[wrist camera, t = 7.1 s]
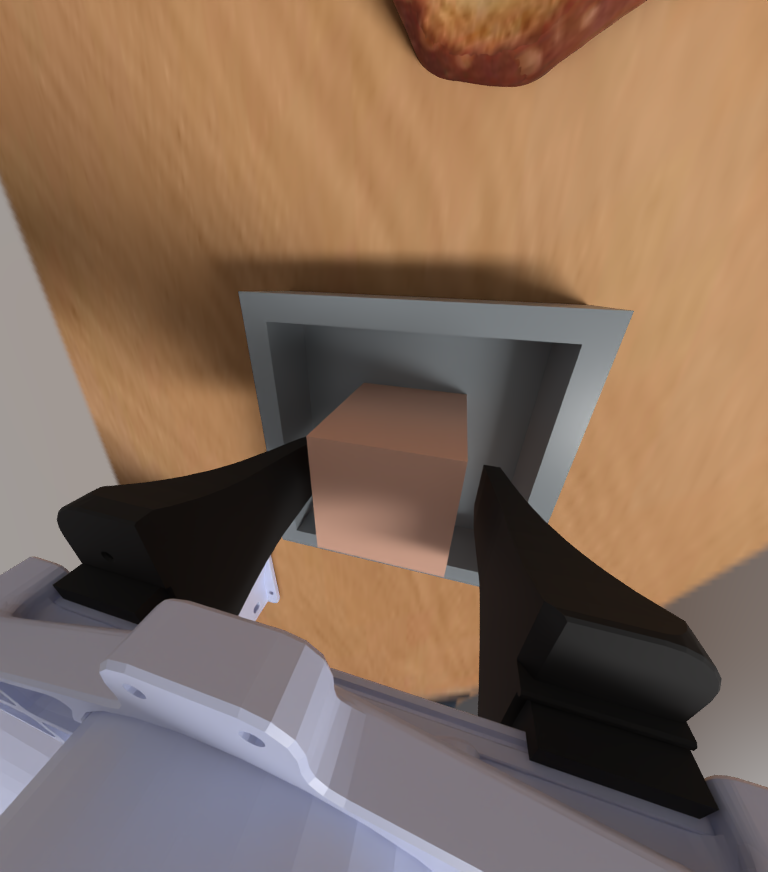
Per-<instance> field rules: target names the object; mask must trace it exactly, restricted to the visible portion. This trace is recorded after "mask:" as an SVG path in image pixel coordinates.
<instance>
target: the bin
mask: <svg viewBox="0 0 768 872" xmlns="http://www.w3.org/2000/svg"><path fill="white" fill-rule="evenodd" d="M238 293H239V298H240V304H241V309H242V315H243V321H244V326H245V332H246V337H247V343H248V348H249V354H250V360H251V365H252V371H253V376H254V382H255V387H256V393H257V398H258V404H259V410H260V415H261V421H262V426H263V432H264V437H265V443H266V449H267V451H270V450H272V449H274V448H277V447H279V446H282V445H284V444H287V443H289V442H292V441H294V440H297V439H300V438H303V437H306V436H307V435H308V434H309V433H310V432H311V431H312V430H313V429H315V428H316V427H317V426H318V425H319V424H320V423H321V422H322V421H323V420H324V419H325V418H326V417H327V416H329V415H330V414H331V413H332V412H333V411H334V410H335V409H336V408H337V407H338V406H339V405H340V404H341V403H343V402H344V401H345V400H346V399H347V398H348V397H349V396H350V395H351V394H352V393H353V392H354V391H355V390H357V389H358V388H359V387H360V386H361V385H362V384H363V383H371V384H379V385H388V386H397V387H406V388H415V389H424V390H432V391H441V392H450V393H459V394H467V446H468V463H467V468H466V473H465V478H464V482H463V487H462V492H461V497H460V502H459V507H458V512H457V517H456V521H455V526H454V531H453V536H452V541H451V546H450V551H449V556H448V560H447V565H446V570H445V575H444V577H441V576H437V575H433V574H429V575H433V576H437V577H441V578H445V579H450V580H454V581H458V582H462V583H466V584H470V585H475V586H479V575H478V566H477V557H476V547H475V538H474V504H475V499H476V495H477V491H478V487H479V482H480V478H481V474H482V469H483V465H489V466H495V467H500V468H501V469H502V470H503V472H504V473H505V474H506V476H507V477H508V478H509V480H510V481H511V482H512V484H513V485H514V486H515V488H516V489H517V490H518V491H519V493H520V494H521V495H522V496H523V497H524V499H525V500H526V501H527V502H528V503H529V504H530V505H531V507H532V508H533V509H534V510H535V511H536V512H537V513H538V514H539V515H540V516H541V517H542V518H543V519H544V520H545V521H546V522H547V523H548V522H549V519H550V517H551V514H552V512H553V509H554V507H555V504H556V502H557V499H558V497H559V494H560V492H561V489H562V487H563V485H564V482H565V480H566V477H567V475H568V472H569V470H570V467H571V465H572V462H573V460H574V457H575V455H576V452H577V450H578V448H579V445H580V443H581V440H582V438H583V435H584V433H585V430H586V428H587V425H588V423H589V420H590V418H591V415H592V413H593V411H594V408H595V406H596V403H597V401H598V398H599V396H600V393H601V391H602V388H603V386H604V383H605V381H606V378H607V376H608V374H609V371H610V369H611V366H612V364H613V361H614V359H615V356H616V354H617V351H618V349H619V346H620V344H621V341H622V339H623V337H624V334H625V332H626V329H627V327H628V324H629V322H630V319H631V317H632V314H633V312H634V311H631V310H623V309H615V308H608V307H600V306H593V305H579V304H558V303H537V302H515V301H494V300H473V299H452V298H431V297H409V296H388V295H367V294H346V293H324V292H303V291H238ZM282 538H283V539H284V540H288V541H292V542H296V543H300V544H304V545H308V546H313V547H317V537H316V527H315V517H314V507H313V497H312V496H311V497H310V499H309V500H308V502H307V503H306V504H305V506H304V507H303V509H302V510H301V511H300V513H299V514H298V515H297V517H296V518H295V519H294V521H293V522H292V523H291V525H290V526H289V528H288V529H287V530H286V532H285V533H284V534H283V536H282ZM317 548H321V547H317ZM321 549H325V548H321ZM325 550H329V549H325ZM329 551H333V550H329ZM333 552H337V551H333ZM338 553H341V552H338ZM342 554H345V553H342ZM346 555H350V554H346ZM350 556H354V555H350ZM354 557H358V556H354ZM358 558H362V557H358ZM362 559H366V558H362ZM367 560H370V559H367ZM371 561H374V560H371ZM375 562H379V561H375ZM379 563H383V562H379ZM383 564H387V563H383ZM387 565H391V564H387ZM391 566H395V565H391ZM396 567H399V566H396ZM400 568H403V567H400ZM404 569H408V568H404ZM408 570H412V569H408ZM412 571H416V570H412ZM416 572H420V571H416ZM421 573H424V572H421ZM425 574H428V573H425Z"/></svg>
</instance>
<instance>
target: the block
mask: <svg viewBox="0 0 768 872" xmlns="http://www.w3.org/2000/svg"><path fill="white" fill-rule="evenodd" d="M306 438H307V447H308V457H309V467H310V477H311V487H312V497H313V507H314V517H315V527H316V537H317V547H321V548H325V549H329V550H333V551H337V552H341V553H345V554H350V555H354V556H358V557H362V558H366V559H370V560H374V561H379V562H383V563H387V564H391V565H395V566H399V567H403V568H408V569H412V570H416V571H420V572H424V573H428V574H433V575H437V576H441V577H444V575H445V570H446V565H447V560H448V556H449V551H450V546H451V541H452V536H453V531H454V526H455V521H456V517H457V512H458V507H459V502H460V497H461V492H462V487H463V482H464V478H465V473H466V468H467V463H468V446H467V394H459V393H450V392H441V391H432V390H424V389H415V388H406V387H397V386H388V385H379V384H371V383H363V384H362V385H361V386H360V387H359V388H358V389H357V390H355V391H354V392H353V393H352V394H351V395H350V396H349V397H348V398H347V399H346V400H345V401H344V402H343V403H341V404H340V405H339V406H338V407H337V408H336V409H335V410H334V411H333V412H332V413H331V414H330V415H329V416H327V417H326V418H325V419H324V420H323V421H322V422H321V423H320V424H319V425H318V426H317V427H316V428H315V429H313V430H312V431H311V432H310V433H309V434H308V435H307V436H306Z"/></svg>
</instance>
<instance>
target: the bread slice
mask: <svg viewBox="0 0 768 872" xmlns="http://www.w3.org/2000/svg"><path fill="white" fill-rule="evenodd" d="M645 1H647V0H393V2H394V4H395V7H396V9H397V11H398V13H399V15H400V17H401V20H402V22H403V25H404V27H405V29H406V31H407V34H408V36H409V38H410V41H411V44H412V46H413V48H414V51H415V53H416V55H417V58H418V59H419V61H420V63H421V64H422V65H423V66H424V67H425V68H426V69H427V70H428V71H429V72H431V73H432V74H434V75H436V76H437V77H440V78H443V79H447V80H452V81H461V82H467V83H473V84H479V85H487V86H499V87H517V86H522V85H525V84H529V83H531V82H533V81H535V80H537V79H539V78H541V77H542V76H543V75H545V74H546V73H547V72H548V71H550V70H551V69H552V68H553V67H554V66H556V65H557V64H558V63H559V62H561V61H562V60H564V59H565V58H567V57H568V56H569V55H570V54H572V53H573V52H575V51H576V50H578V49H579V48H581V47H582V46H583V45H584V44H586V43H587V42H588V41H589V40H591V39H592V38H593V37H595V36H596V35H598V34H599V33H601V32H602V31H603V30H605V29H606V28H608V27H609V26H611V25H612V24H613V23H615V22H616V21H617V20H619V19H620V18H621V17H623V16H624V15H626V14H627V13H629V12H630V11H632V10H633V9H635V8H637V7H638V6H639V5H641V4H642V3H644V2H645Z"/></svg>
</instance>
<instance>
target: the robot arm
mask: <svg viewBox="0 0 768 872" xmlns="http://www.w3.org/2000/svg"><path fill="white" fill-rule="evenodd" d="M311 496H312V487H311V477H310V467H309V457H308V447H307V438H306V437H303V438H300V439H297V440H294V441H292V442H289V443H287V444H284V445H282V446H279V447H277V448H274V449H272V450H270V451H267V452H265V453H262V454H259V455H257V456H254V457H251V458H249V459H246V460H243V461H240V462H237V463H234V464H231V465H228V466H224V467H221V468H217V469H214V470H210V471H205V472H201V473H196V474H192V475H188V476H183V477H177V478H172V479H166V480H159V481H152V482H145V483H136V484H126V485H115V486H104V487H100V488H98V489H96V490H94V491H92V492H90V493H88V494H86V495H84V496H83V497H81V498H79V499H77V500H75V501H73V502H71V503H70V504H68V505H66V506H64V507H62V508H61V509H60V510H59V512H58V517H57V522H58V525H59V528H60V530H61V532H62V534H63V535H64V537H65V538H66V540H67V541H68V543H69V544H70V546H71V547H72V549H73V550H74V552H75V553H76V555H77V556H78V558H79V559H80V561H81V562H82V564H81V565H80V566H78V567H77V568H76V569H74V570H73V571H71V572H69V571H68V570H67V569H66V568H64V567H63V566H61V565H59V564H57V563H53V562H50V561H47V560H44V559H41V558H38V557H29V558H28V559H26V560H24V561H23V562H21V563H19V564H18V565H16V566H14V567H13V568H11V569H10V570H8V571H7V572H5V573H3V574H1V575H0V872H768V788H767V787H764V786H761V785H758V784H755V783H752V782H749V781H745V780H742V779H739V778H735V777H730V776H722V775H719V776H718V775H714V776H710V777H707V778H705V779H704V778H703V775H702V774H701V771H700V769H699V767H698V765H697V763H696V761H695V759H694V757H693V755H692V753H691V751H690V750H693V751H694V750H695V749H697V742H696V740H695V738H694V736H693V734H692V732H691V730H690V728H689V726H688V724H687V722H686V721H687V720H689V719H690V718H691V717H693V716H694V715H695V714H696V713H697V712H699V711H700V710H701V709H702V708H704V707H705V706H706V705H708V703H710V702H711V701H712V700H713V699H714V697H715V696H716V695H717V694H718V692H719V690H720V685H721V677H720V675H719V673H718V670H717V668H716V666H715V665H714V664H713V662H712V660H711V659H710V657H709V656H708V654H707V653H706V651H705V650H704V648H703V647H702V646H701V644H700V643H699V641H698V639H697V638H696V636H695V635H694V634H693V632H692V630H691V629H690V628H689V626H688V625H687V623H686V622H685V621H684V620H682V619H680V618H679V617H677V616H675V615H674V614H672V613H670V612H669V611H667V610H665V609H664V608H662V607H660V606H659V605H657V604H655V603H654V602H652V601H650V600H649V599H647V598H646V597H644V596H642V595H641V594H639V593H637V592H636V591H634V590H633V589H631V588H630V587H628V586H627V585H625V584H624V583H622V582H621V581H619V580H618V579H616V578H615V577H613V576H612V575H610V574H609V573H608V572H606V571H605V570H603V569H602V568H601V567H599V566H598V565H596V564H595V563H594V562H592V561H591V560H590V559H589V558H587V557H586V556H585V555H583V554H582V553H581V552H580V551H578V550H577V549H576V548H575V547H573V546H572V545H571V544H570V543H569V542H567V541H566V540H565V539H564V538H563V537H562V536H561V535H560V534H558V533H557V532H556V531H555V530H554V529H553V528H552V527H551V526H550V525H549V524H548V523H547V522H546V521H545V520H544V519H543V518H542V517H541V516H540V515H539V514H538V513H537V512H536V511H535V510H534V509H533V508H532V507H531V505H530V504H529V503H528V502H527V501H526V500H525V499H524V497H523V496H522V495H521V494H520V493H519V491H518V490H517V489H516V488H515V486H514V485H513V484H512V482H511V481H510V480H509V478H508V477H507V476H506V474H505V473H504V472H503V470H502V469H501V468H500V467H495V466H489V465H483V469H482V474H481V478H480V482H479V487H478V491H477V495H476V499H475V504H474V538H475V547H476V557H477V566H478V575H479V588H480V656H479V697H478V699H479V701H478V716H475V715H473V714H470V713H467V712H464V711H460V710H457V709H454V708H451V707H448V706H445V705H442V704H439V703H436V702H433V701H430V700H427V699H424V698H421V697H418V696H415V695H412V694H409V693H406V692H403V691H400V690H397V689H394V688H391V687H387V686H384V685H381V684H378V683H375V682H372V681H369V680H366V679H363V678H360V677H357V676H354V675H351V674H348V673H345V672H342V671H339V670H336V669H333V668H330V667H329V665H328V663H327V661H326V659H325V657H324V655H323V654H322V653H321V652H319V651H318V650H317V649H316V648H315V647H313V646H312V645H311V644H310V643H309V642H307V641H306V640H304V639H302V638H300V637H297V636H295V635H293V634H291V633H289V632H287V631H285V630H282V629H278V628H275V627H272V626H269V625H265V624H262V623H259V622H256V619H257V617H258V616H259V614H260V613H261V611H262V610H263V608H264V606H265V605H266V603H267V602H268V601H269V602H272V603H277V602H278V601H279V599H280V596H279V591H278V586H277V582H276V577H275V572H274V568H273V563H272V558H271V554H272V552H273V550H274V548H275V547H276V545H277V543H278V542H279V540H280V539H281V537H282V536H283V534H284V533H285V532H286V530H287V529H288V528H289V526H290V525H291V523H292V522H293V521H294V519H295V518H296V517H297V515H298V514H299V513H300V511H301V510H302V509H303V507H304V506H305V504H306V503H307V502H308V500H309V499H310V497H311Z"/></svg>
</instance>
